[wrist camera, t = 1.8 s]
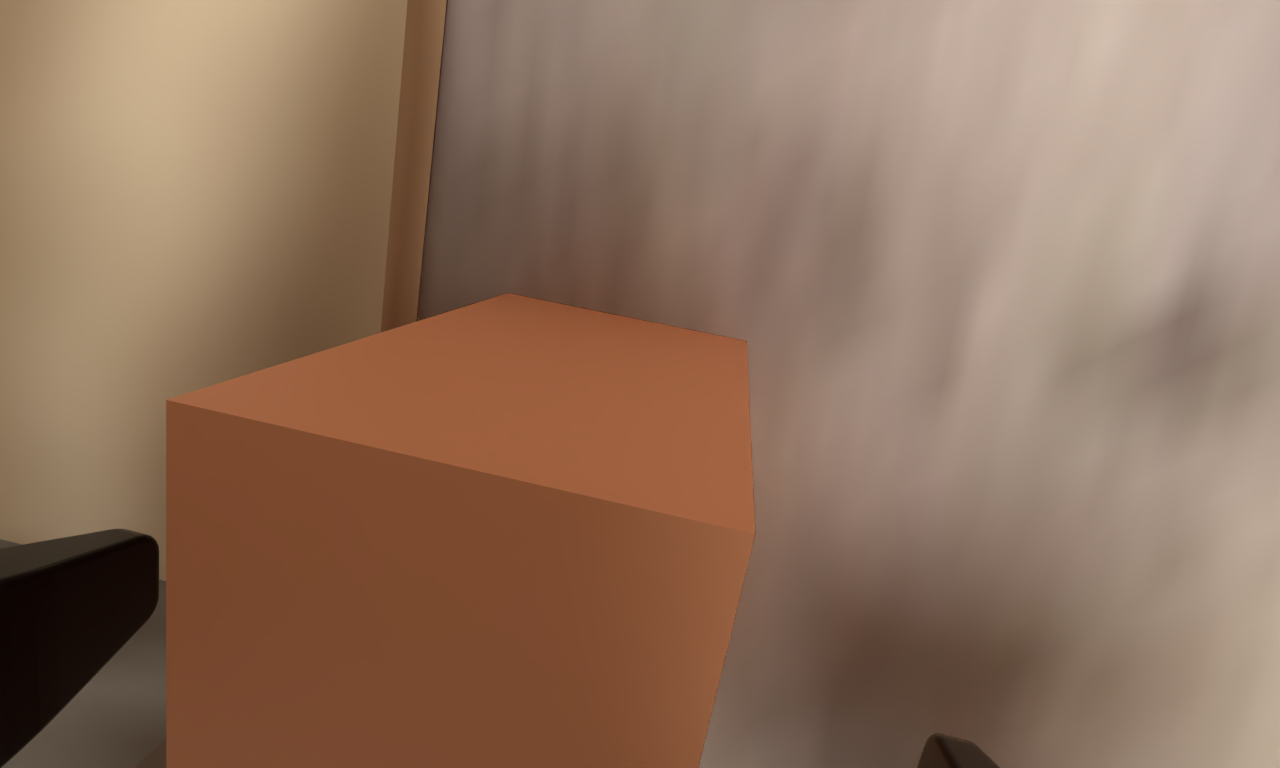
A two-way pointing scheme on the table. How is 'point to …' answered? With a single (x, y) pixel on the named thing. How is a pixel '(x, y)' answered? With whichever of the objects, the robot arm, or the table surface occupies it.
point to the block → (460, 547)
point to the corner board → (186, 255)
